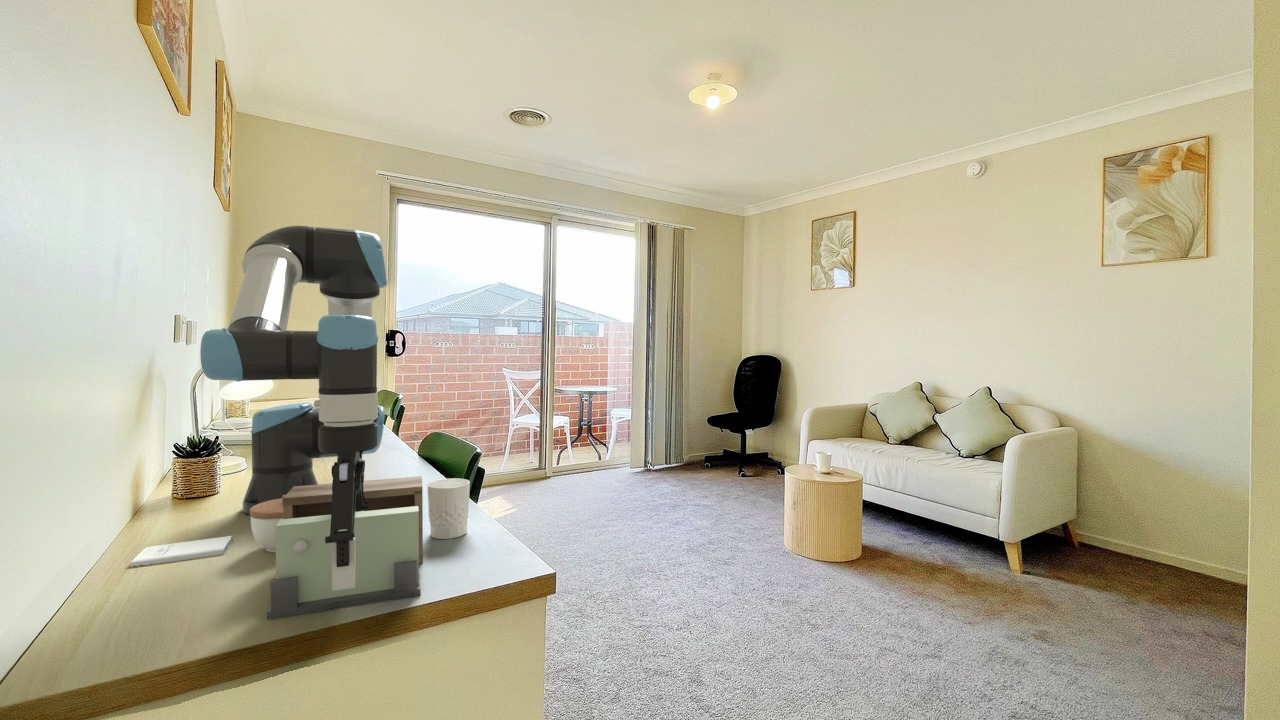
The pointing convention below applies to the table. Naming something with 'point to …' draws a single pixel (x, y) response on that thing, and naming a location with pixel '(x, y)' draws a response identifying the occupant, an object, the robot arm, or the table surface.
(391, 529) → the door panel
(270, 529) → the lidded jar
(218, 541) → the external hard drive
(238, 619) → the table surface
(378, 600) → the clip rail
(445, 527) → the white cup
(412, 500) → the cabinet
